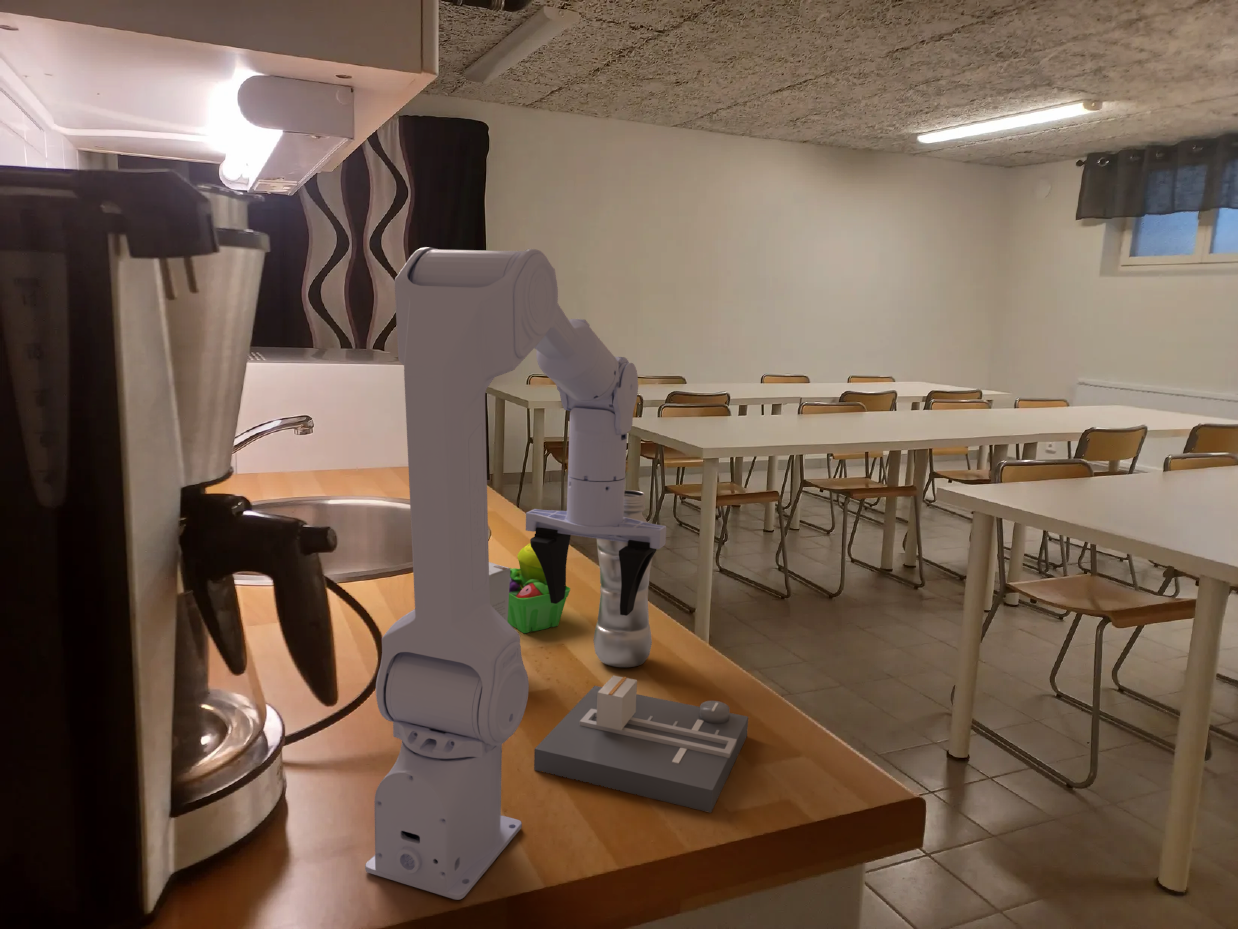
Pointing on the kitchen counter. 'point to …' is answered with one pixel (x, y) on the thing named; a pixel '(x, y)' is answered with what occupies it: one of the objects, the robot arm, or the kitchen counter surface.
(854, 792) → the kitchen counter surface
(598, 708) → the fader cap
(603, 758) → the console
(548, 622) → the fruit basket
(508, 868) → the kitchen counter surface
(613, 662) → the plastic bottle
